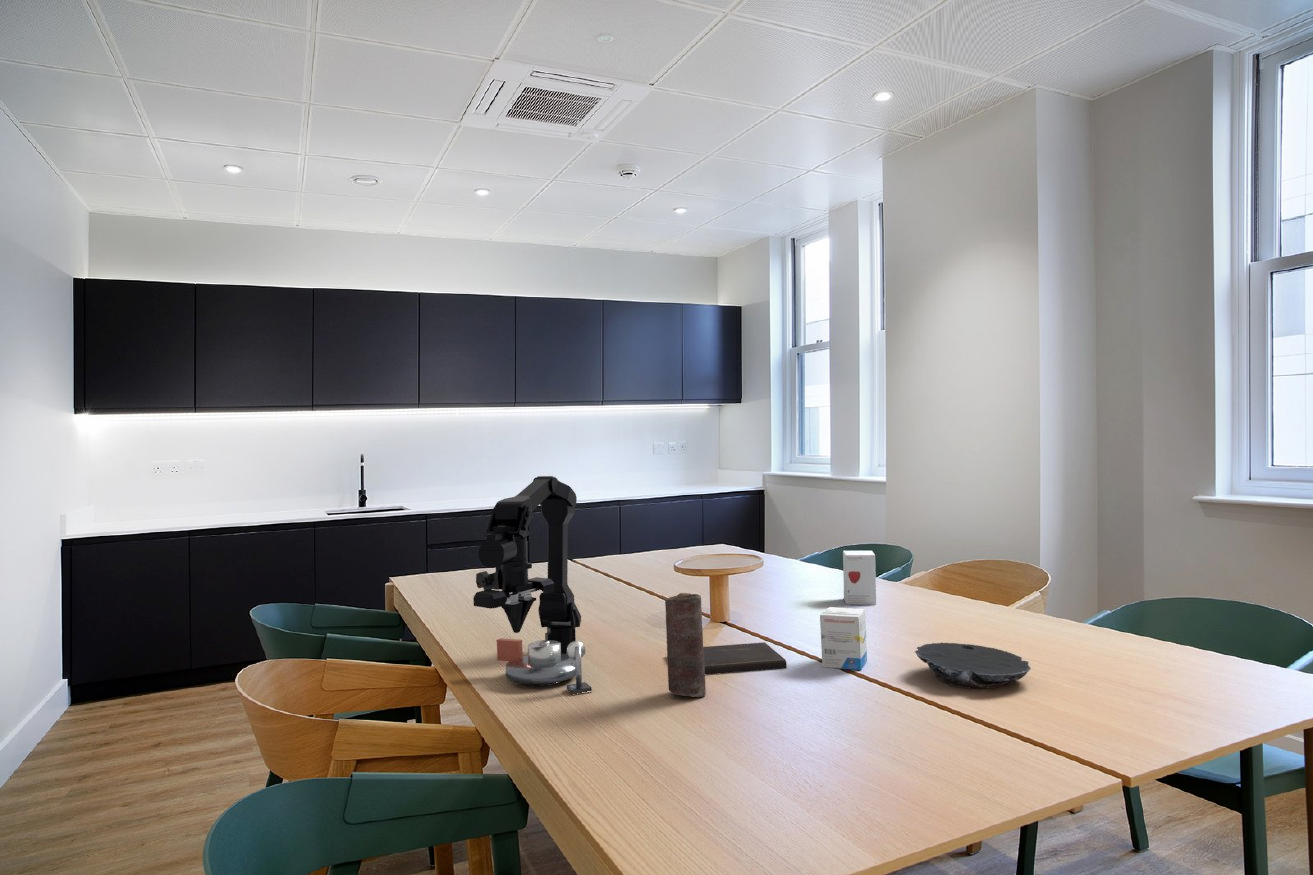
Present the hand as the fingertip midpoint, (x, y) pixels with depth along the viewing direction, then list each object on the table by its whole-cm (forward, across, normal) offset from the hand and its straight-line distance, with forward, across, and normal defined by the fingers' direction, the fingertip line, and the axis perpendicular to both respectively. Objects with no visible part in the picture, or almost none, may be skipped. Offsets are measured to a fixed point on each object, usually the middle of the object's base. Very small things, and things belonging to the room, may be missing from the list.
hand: (516, 632), depth 169 cm
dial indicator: (+11, -2, +14) cm, 18 cm away
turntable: (+9, -4, +3) cm, 11 cm away
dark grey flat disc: (+11, -50, +80) cm, 95 cm away
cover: (+7, -5, +3) cm, 9 cm away
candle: (+11, -11, +36) cm, 39 cm away
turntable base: (+11, -4, +3) cm, 12 cm away
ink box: (+11, -46, +54) cm, 72 cm away
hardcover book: (+12, -34, +31) cm, 48 cm away
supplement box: (+12, -110, +33) cm, 115 cm away
